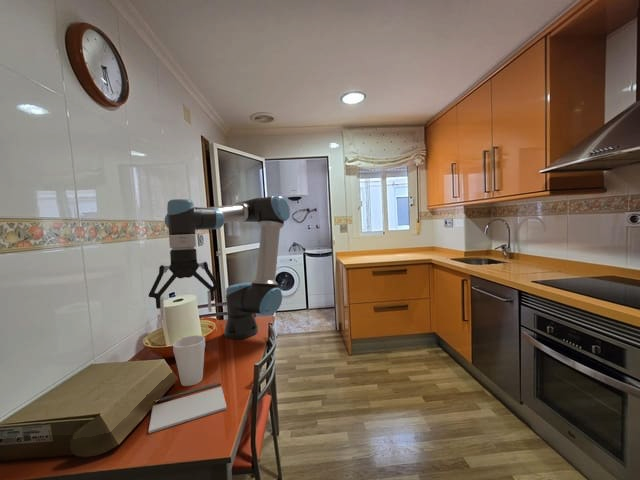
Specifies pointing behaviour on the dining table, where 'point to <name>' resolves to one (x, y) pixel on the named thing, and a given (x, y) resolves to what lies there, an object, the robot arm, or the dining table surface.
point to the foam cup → (190, 359)
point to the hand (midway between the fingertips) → (187, 314)
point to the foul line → (190, 391)
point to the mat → (186, 409)
